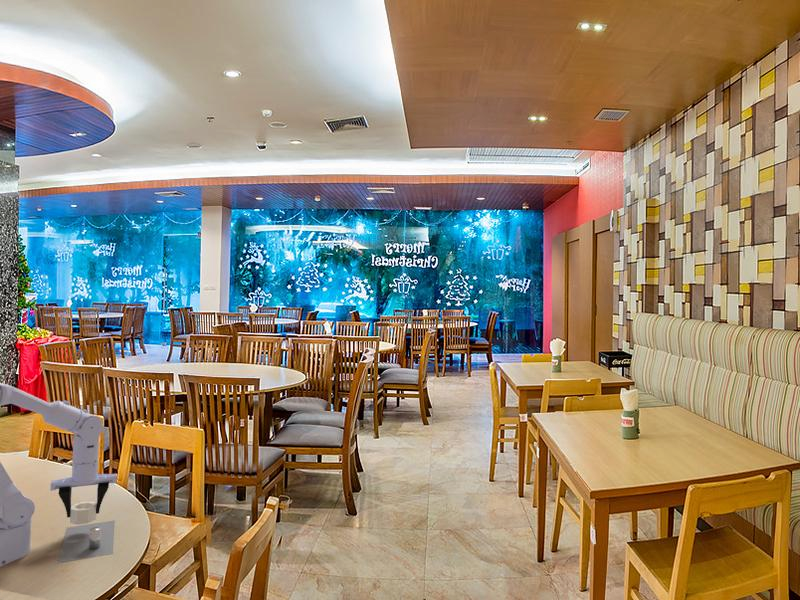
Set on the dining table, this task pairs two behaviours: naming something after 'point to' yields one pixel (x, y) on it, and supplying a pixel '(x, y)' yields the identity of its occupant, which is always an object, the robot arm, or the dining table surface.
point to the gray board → (86, 542)
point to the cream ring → (83, 512)
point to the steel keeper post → (94, 538)
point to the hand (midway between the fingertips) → (83, 514)
